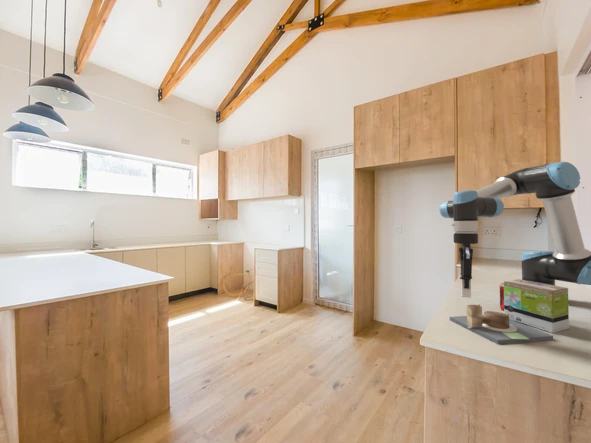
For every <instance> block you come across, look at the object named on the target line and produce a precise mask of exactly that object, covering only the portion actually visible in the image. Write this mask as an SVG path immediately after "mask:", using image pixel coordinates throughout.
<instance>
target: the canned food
mask: <svg viewBox="0 0 591 443" xmlns="http://www.w3.org/2000/svg"><path fill="white" fill-rule="evenodd" d="M499 308H500V310H501V311H503V312H504V282H502V283H501V282H500V283H499Z"/></svg>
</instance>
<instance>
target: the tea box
mask: <svg viewBox="0 0 591 443" xmlns="http://www.w3.org/2000/svg"><path fill="white" fill-rule="evenodd" d="M503 283H504V311H503V314H506V315H508V316H509V319H510V320H513V321H516V322H518V323H521V324H523V325H526V326H529V327H531V328H534V329H538V330H540V331H543V332H547V331H548V333H550V332H551V334H556V333H558V331H559V332H561V331H565V330H567V329H569V328H570V327H569V322H570V321H569V320H570V318H569V317H570V316H569V314H570V312H569V287H565V286H560V285H559V286H558V285H555V286H554V285H548V284H543V283H537V282H532V281H526V280H522V278H521V279H520V278H519V279H513V280H507V281H503Z"/></svg>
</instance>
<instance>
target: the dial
mask: <svg viewBox="0 0 591 443" xmlns="http://www.w3.org/2000/svg"><path fill="white" fill-rule="evenodd" d="M465 307H466V316H467V325H469V326H471V327H480V326H482V324H486V325H488V326H491V327H495V328H501V329H507V328H509V316H508V315H506V314H504V312H499V311H493V310H492V311H491V310H490V311H489V310H487V311H484V312H483V306H481V303H473V304H471V303H470V304H465ZM482 315H484V317H482Z"/></svg>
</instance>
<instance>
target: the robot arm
mask: <svg viewBox="0 0 591 443" xmlns="http://www.w3.org/2000/svg"><path fill="white" fill-rule="evenodd" d="M575 166H576V165H574V164H573V163H571V162H568V161H560V162H549V163H545V164H541V165H536V166H530V167H524V168H520V169H518V170H515V171H512V172H511V173H509V174H506V175H504V176H502V177H500V178H497V179H495V181H494V183H491V184H488V185H487V186H484V187H482V188H479V189H477V190H473V189H472V190H458V191H455V192H454V193H453V198H452V200H448V201H444V202H442V203H441V204H440V205H439V213H440V216H441V217H443V218H445V219H452V220H453V223H451V226H452V227H453V232H454V233H453V243H455V244H460V247H458V253H459V260H460V264H459V265H460V277H459V279H460V280H461V297H462V298H469V299H471V298H472V284H471V283H472V279H473V276H472V273H473V272H472V271H473V268H472V267H473V253H474V249H473V248H471V245H476V244H478V243H479V234H478V233H477V232H479V219H478V218H495V217H498V216H500V215H501V214H502V213H503V211H504V209H505V205H504V202H503V201H502V200H501V199H503V198H510V197H513V196H518V195H527V194H535V196H536V199H537V200H540V201H542V204H543V208H544V211H545V214H546V218H547V219H546V220H547V222H548V227H549V230H550V233H551V236H552V241H553V243H554V248H555V251H553V250H550V251H525V252H522V254H521V260H520V262H521V280H526V281H532V282H537V283H543V284H548V285H554V286H556V281H559V282H560V281H561V282H566V283H571V284H572V283H573V284H577V285H587V286H591V250H589V249H587V248H585V245H584V241H583V237H582V233H581V230H580V229H581V228H580V225H579V222H578V219H577V214H576V210H575V208H574V203H573V200H572V195H573V194H575V192H576V190H575V189H577V188H578V187H579V185H580V183H581V181H580V180H581V175H580V172H579V170H578V168H577V167H575Z"/></svg>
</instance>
